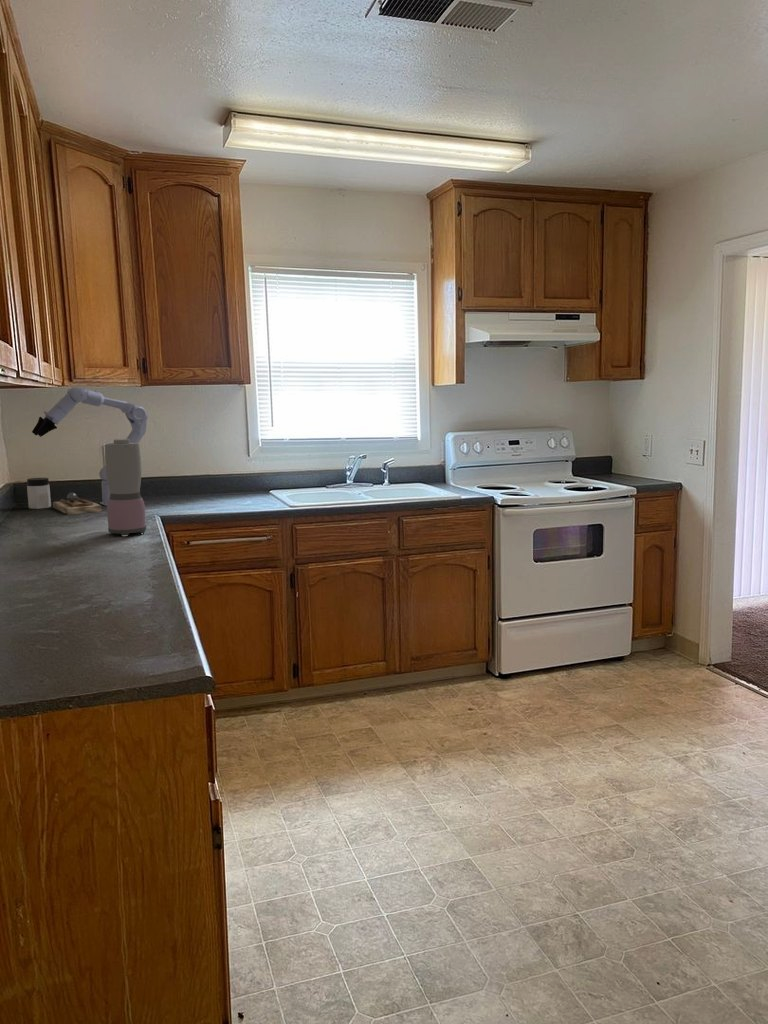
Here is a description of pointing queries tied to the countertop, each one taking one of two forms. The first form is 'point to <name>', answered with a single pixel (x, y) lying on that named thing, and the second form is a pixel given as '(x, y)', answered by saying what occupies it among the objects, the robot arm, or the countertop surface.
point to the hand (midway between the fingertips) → (36, 434)
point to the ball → (72, 497)
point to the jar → (38, 493)
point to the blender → (124, 487)
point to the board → (77, 506)
